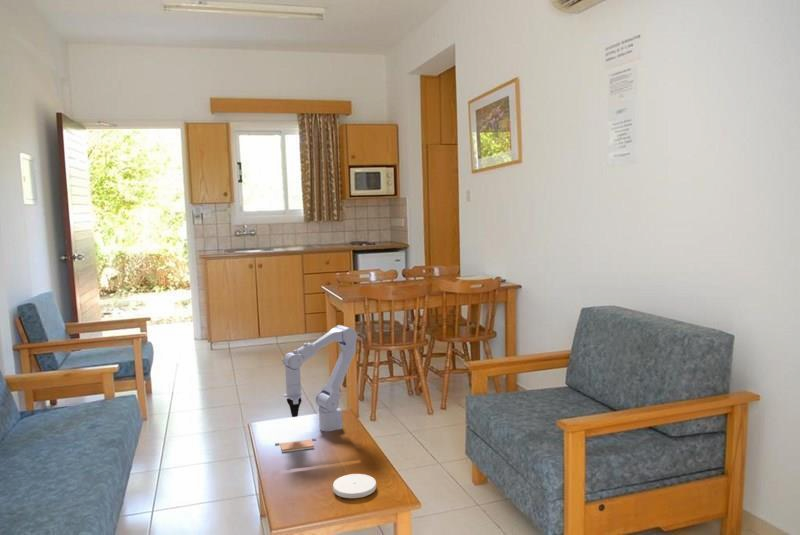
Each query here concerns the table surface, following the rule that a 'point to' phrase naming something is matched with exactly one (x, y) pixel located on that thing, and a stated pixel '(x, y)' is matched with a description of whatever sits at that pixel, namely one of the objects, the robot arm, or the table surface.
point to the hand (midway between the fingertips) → (294, 416)
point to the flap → (296, 445)
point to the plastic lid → (354, 485)
